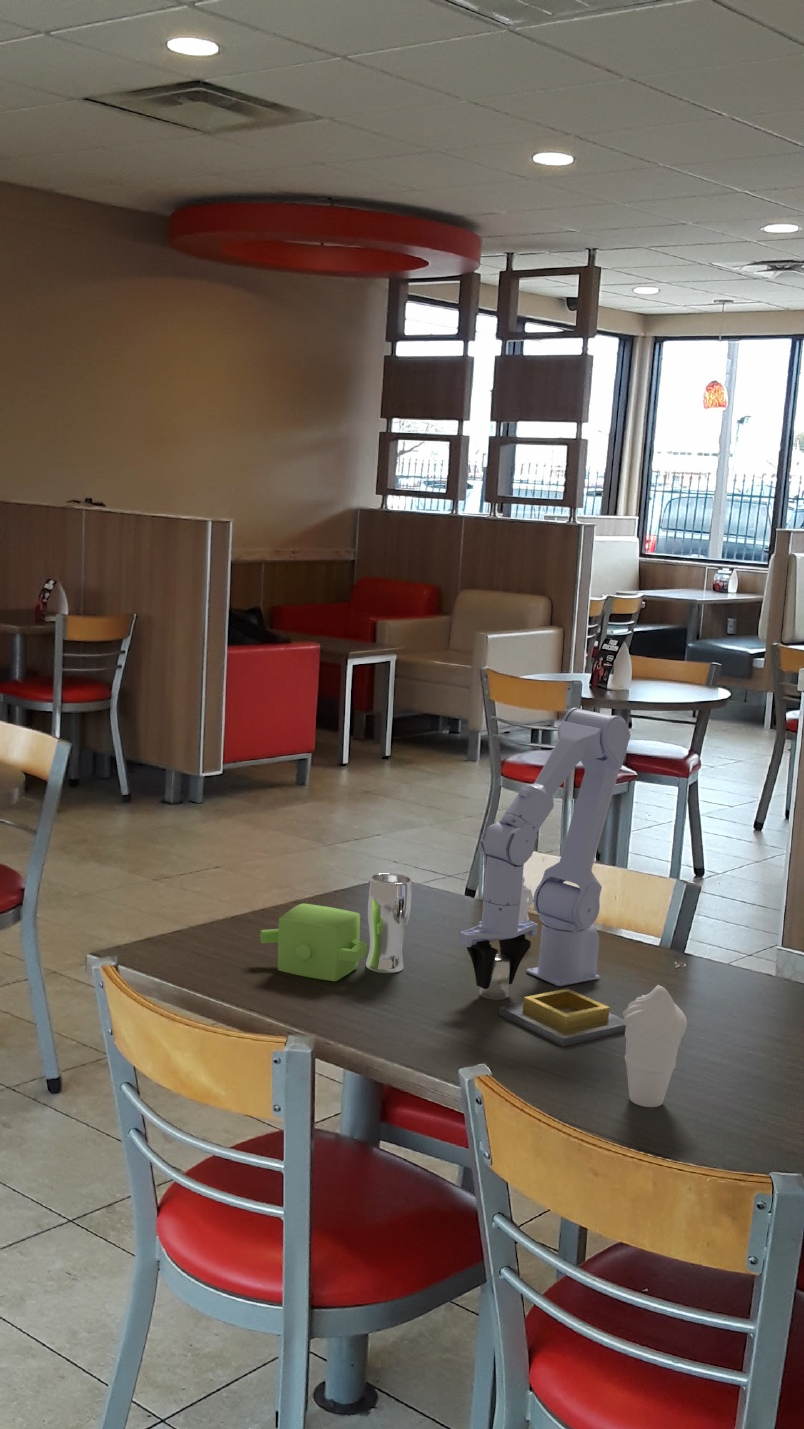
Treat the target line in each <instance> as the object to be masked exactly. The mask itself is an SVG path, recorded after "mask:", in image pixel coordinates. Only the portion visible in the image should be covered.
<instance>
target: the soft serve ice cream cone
mask: <svg viewBox="0 0 804 1429" xmlns="http://www.w3.org/2000/svg"><path fill="white" fill-rule="evenodd" d="M622 1015H623V1017H624V1018H623V1019H624V1020H623V1023H624V1024H625V1025H626V1030H625V1032H624V1036H625V1054H624V1061H625V1064H626V1073H627V1082H628V1083H627V1084H628V1085H627V1086H628V1095H629V1096H628V1097H629V1100H630V1102H632V1104H635V1105H638V1106H640V1107H644V1108H657V1107H660V1106H661V1105H663V1104H664V1100H665V1097H666V1094H667V1091H668V1087H669V1084H670V1081H671V1078H672V1075H673V1072H674V1070H675V1068H677V1064H676V1061H677V1058H678V1057H677V1056H678V1052H679V1046H680V1045H681V1043H682V1038H683V1036H685V1035H684V1034H685V1033H686V1030H687V1027H688V1019H687V1017H686V1015H685V1013H684V1012H683V1011H682V1009H681V1008H680V1007H679V1006H678V1005H677V1003H675V1002H674V1000H673V998H672V996H671V995H670V994H669V991H668V990H667V989H666V988H665V987H664V986H662V985H659V984H657V985H656V986H655V987H654V988H653V989H652V990H651V991H650V992H649V993H647V994H642V995H641V996H637V997H636V998H635V1000H633V1001H631V1002H629V1004H628V1005H627V1008H626V1009H625V1010H623V1012H622Z"/></svg>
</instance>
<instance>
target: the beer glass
mask: <svg viewBox="0 0 804 1429" xmlns="http://www.w3.org/2000/svg"><path fill="white" fill-rule="evenodd" d="M369 883H370V884H369V888H368V890H369V891H368V897H367V898H368V899H367V920H368V931H369V932H368V933H369V951H368V953H367V959H366V962H365V966H366V968H367V969H368V970H370V971H371V972H375V973H378V974H396V972H397V973H399V972H401V971H402V970H404V959H403V944H404V940H405V935H406V931H407V927H408V924H409V920H410V915H411V909H412V907H411V906H412V879H411V877H410V876H408V875H405V874H401V873H393V872H379V873H375V874H372V875H371V876H370V882H369Z"/></svg>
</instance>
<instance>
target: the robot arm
mask: <svg viewBox="0 0 804 1429" xmlns="http://www.w3.org/2000/svg"><path fill="white" fill-rule="evenodd" d="M630 739H631V731H630V729H629V727H628V724H627V721H626V719H625V718H624V717H622V716H620V715H611V714H605V713H602V712H595V711H591V710H587V709H582V708H580V707H572V708H570V709H569V710H568V711H566V713H565V714H564V715H563V717H562V721H561V722H560V723H559V724H558V726H557V742H556V743H555V746H554V747H553V749H552V751H551V753H550V755H549V756H548V758H547V760H546V762H545V763H544V765H543V767H542V769H541V771H540V772H539V774H538V776H537V777H536V780H535V781H534V783H531V784H526V785H523V787H521V789H520V791H519V792H518V793H517V796H516V797H515V798H514V800H513V801H512V803H511V804H510V805H509V807H508V808H507V810H506V811H505V813H504V814H503V816H502V817H501V819H500V820H499V821H496V822H495V823H492V824H490V825H489V826H488V827H487V828H486V829H485V831H484V832H483V834H482V838H481V839H480V840H479V848H480V851H481V853H482V856H483V864H482V865H483V867H484V868H485V878H484V880H485V881H484V888H483V889H484V891H483V900H482V901H483V902H482V903H483V904H482V911H481V912H482V915H481V920H480V921H479V922H478V925H475V926H474V927H473V926H472V927H471V928H469V929H467V930H462V931H459V935H458V936H459V938H458V944H459V945H461V946H463V947H464V948H466V949H467V952H468V954H469V957H470V958H471V962H472V965H473V971H474V975H475V976H474V977H475V983H476V986H477V987H479V988H480V987H481V988H483V989H488V987H489V984H490V978H491V970H492V966H493V962H494V959H495V956H496V954H498V952H499V949H500V954H501V955H505V956H508V957H509V958H510V959H511V965H510V976H509V985H512V984H513V982H514V981H515V977H516V974H517V972H518V968H519V966H520V963H521V962H522V960H523V958H524V956H525V955H526V953H527V952H528V951H529V950H530V948H531V943H532V942H531V940H529V939H528V938H526V937H527V936H530V937H537V936H538V928H539V923H536V922H534V921H532V920H528V921H525V920H524V921H523V922H519V912H520V900H521V889H522V878H523V876H524V869H525V868H524V866H525V865H524V864H526V863H527V862H528V861H529V860H530V858H532V855H533V853H534V849H535V843H536V840H537V839H538V832H539V830H540V828H541V827H542V826H543V824H544V822H545V820H547V818H548V816H549V815H550V814H551V813H552V810H553V809H554V806H555V805H554V804H555V803H554V796H553V795H554V794H555V793H556V792H557V790H559V788H560V787H561V786H562V784H563V783H564V782H565V780H567V778H568V777H569V775H570V774H571V773H572V772H573V770H575V768H576V767H577V765H578V764H579V763H580V762H581V764H582V766H583V768H584V774H583V776H582V777H583V778H582V780H581V783H580V788H579V791H578V796H577V799H576V802H575V806H574V808H573V813H572V817H571V820H570V823H569V826H568V830H567V835H566V838H565V841H564V845H563V849H562V851H561V855H560V859H559V862H557V863H555V864H554V865H551V866H550V867H548V868H546V869H545V870H544V872H543V875H542V879H541V881H540V882H539V884H538V886H536V888H535V891H534V894H533V900H534V901H533V908H534V910H535V912H536V913H537V914H538V920H539V922H542V923H541V933H540V945H539V953H538V954H539V955H538V965H537V966H536V967H531V968H527V969H526V973H528V974H529V975H532V976H535V977H536V978H539V979H541V980H543V981H546V982H547V983H550V984H553V985H554V986H556V987H563V986H568V985H574V984H578V983H579V984H580V983H583V982H589V981H593V980H598V979H600V975H599V974H597V966H598V957H599V949H600V948H599V946H600V936H599V933H598V930H597V927H595V925H594V923H595V922H596V920H597V918H598V916H599V913H600V907H601V904H600V899H601V898H600V897H601V892H602V887H603V886H602V885H601V883H600V882H599V880H598V879H597V878H596V876H595V874H594V872H592V869H593V865H594V862H595V860H596V855H597V850H598V848H599V845H600V840H601V837H602V833H603V830H604V826H605V822H606V820H607V816H608V812H609V809H610V804H611V801H612V798H613V794H614V790H615V787H616V783H617V780H618V777H619V776H618V775H619V774H620V773H619V772H620V769H621V768H622V767H623V765H624V764H623V763H624V760H625V758H626V754H627V749H628V746H629V742H630ZM565 882H569V883H572V884H575V885H577V886H578V887H577V886H574V885H571V884H567V883H565ZM497 941H498V942H499V949H496V948H494V947H492V944H491V942H497Z"/></svg>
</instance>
